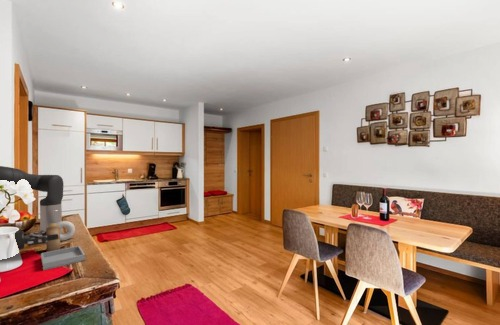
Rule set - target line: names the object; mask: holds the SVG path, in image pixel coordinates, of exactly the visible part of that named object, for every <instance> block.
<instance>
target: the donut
mask: <svg viewBox="0 0 500 325" xmlns="http://www.w3.org/2000/svg"><path fill="white" fill-rule="evenodd" d="M57 226H60V229H61V228H62V229H63V228H65V229H66V232H65V233H62V234H61V233H60V242H62V241H66V240H69V239H70V238H72V237H73V236H74V234H75V232H76V227H75V225H74V223H72V222H71V221H68V220H62V221H61V222H58V223H57Z"/></svg>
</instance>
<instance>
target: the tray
mask: <svg viewBox="0 0 500 325" xmlns="http://www.w3.org/2000/svg"><path fill="white" fill-rule="evenodd" d="M40 256H41V258H40V260H41V265H42V266H43V267H42V270H43V271H46V270H52V269H55V268H60V267H64V266H69V265H72V264H76V263H81V262H85V261H86V253H85V252H84V251H83V249H82V247H81V246H80V245H75V246H70V247H67V248H66V247H65V248H60V250H55V251H50V252H47V251H46V252H42V253H40Z"/></svg>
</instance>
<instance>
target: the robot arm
mask: <svg viewBox="0 0 500 325" xmlns="http://www.w3.org/2000/svg"><path fill="white" fill-rule="evenodd" d="M21 179H25V180H27V181H28V182H29V184H30V185H31V188H32V189H31V190H35V191H39V192H43V193H46V196H45V197H44V198H41V199H40V201H39V217H40V218H39V220H40V221H39V224H40V226H39V227H40V230H37V231H31V232H27V233H26V235H25V231H24V230H23V231H21V230H20V231H15V232H16V233H15V239H16V242H17V245H18V248H19V250H23V249H25V245H27V246H28V247H29V246H35V245H36V246H37V245H41V244H46V242H47V240H48V241H50V240H55V239H58V234H54V235H48V236H46V228H47V227H49V224H53V223H58V222H61V221H63V220H62V219H63V218H62V215H63V211H62V201H63V197H64V180H63V178H62V177H61V175H58V174H31V173H28V172H26V171H24V170H22V169H19V168H14V167H11V166H10V167H9V166H3V165H0V180H7V181H9V182H10V181H14V182H15V184H17V182H18V181H19V180H21ZM60 233H61V234H63V228H61V229H60Z"/></svg>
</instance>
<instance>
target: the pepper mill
mask: <svg viewBox="0 0 500 325" xmlns="http://www.w3.org/2000/svg"><path fill="white" fill-rule="evenodd" d="M54 234H58V239H55V240H50V241H48V240H47V242H46V243H45V244H46V252H50V251H55V250H60V249H61V241H60V226H57V223H53V224H49V227H47V228H46V236H48V235H54Z"/></svg>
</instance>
